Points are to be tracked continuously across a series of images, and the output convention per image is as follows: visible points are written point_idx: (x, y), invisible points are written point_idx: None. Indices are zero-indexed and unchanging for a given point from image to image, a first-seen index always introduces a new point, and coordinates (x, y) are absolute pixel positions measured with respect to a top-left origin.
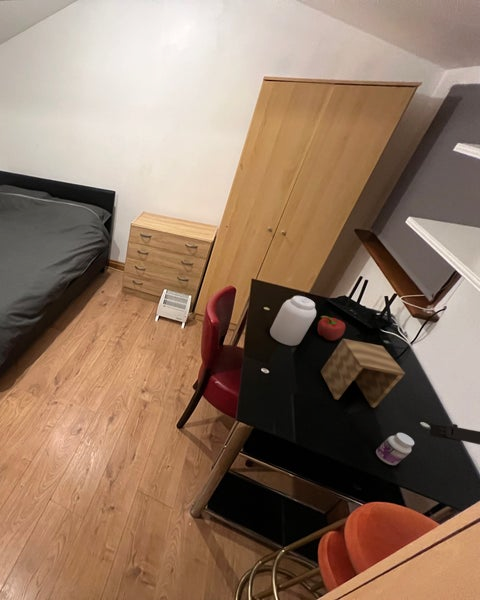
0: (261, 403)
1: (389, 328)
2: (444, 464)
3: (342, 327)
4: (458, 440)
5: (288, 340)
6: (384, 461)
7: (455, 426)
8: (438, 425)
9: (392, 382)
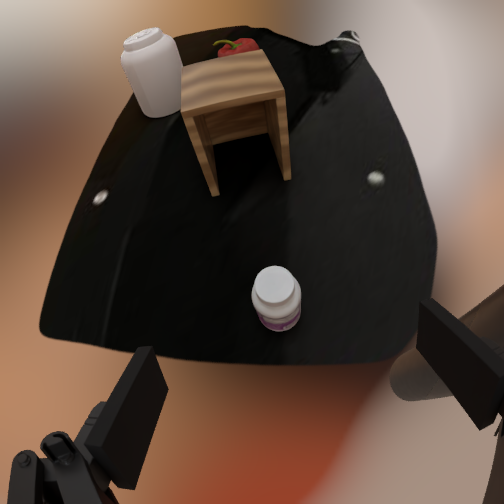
0: (68, 287)
1: (342, 34)
2: (395, 263)
3: (248, 47)
4: (125, 488)
5: (158, 108)
6: (270, 329)
7: (47, 456)
8: (125, 371)
9: (278, 119)
